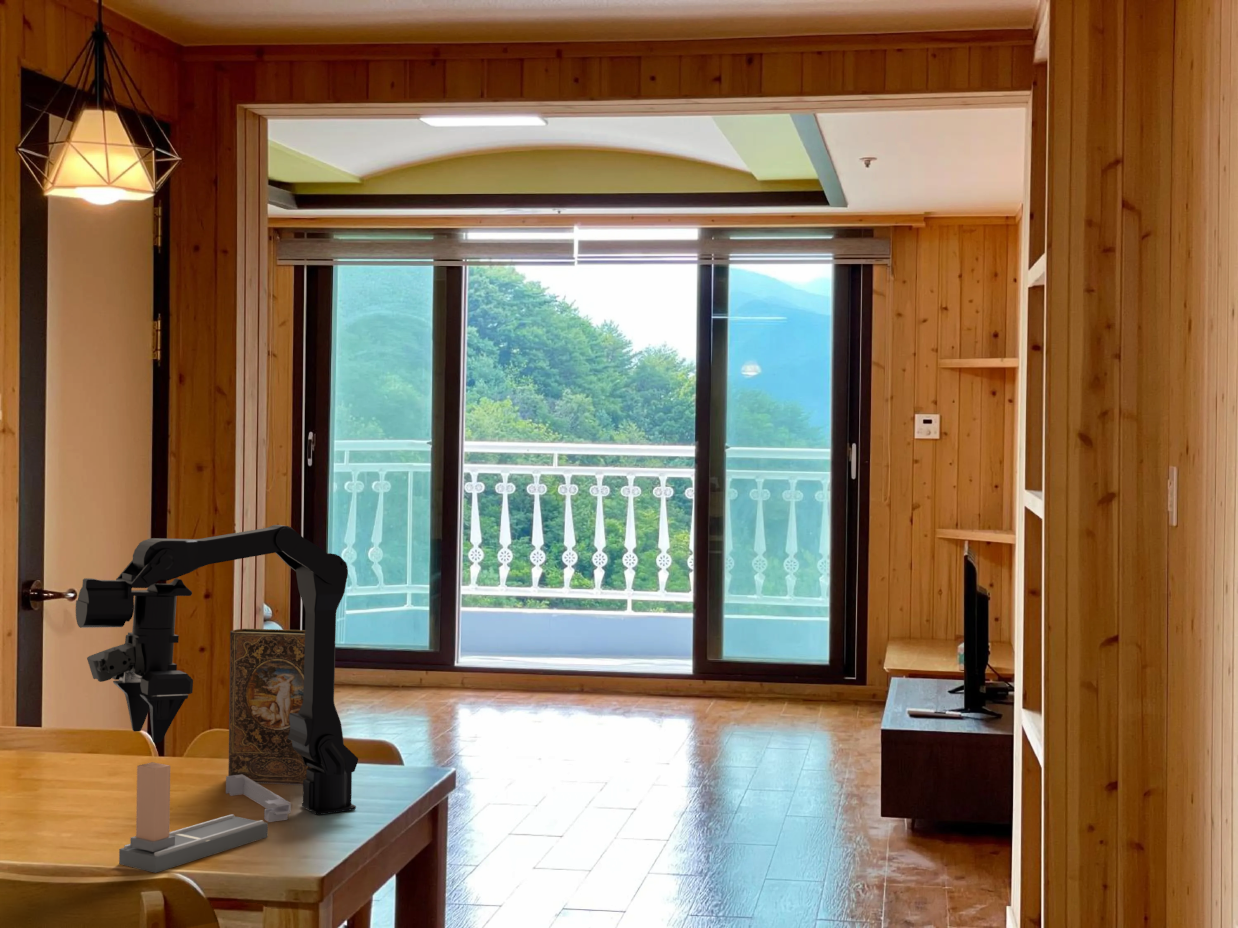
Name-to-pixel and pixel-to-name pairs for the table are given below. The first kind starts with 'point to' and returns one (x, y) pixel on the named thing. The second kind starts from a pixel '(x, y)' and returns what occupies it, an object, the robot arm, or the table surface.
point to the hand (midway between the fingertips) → (146, 736)
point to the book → (265, 704)
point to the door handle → (259, 797)
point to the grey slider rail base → (196, 843)
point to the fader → (153, 808)
